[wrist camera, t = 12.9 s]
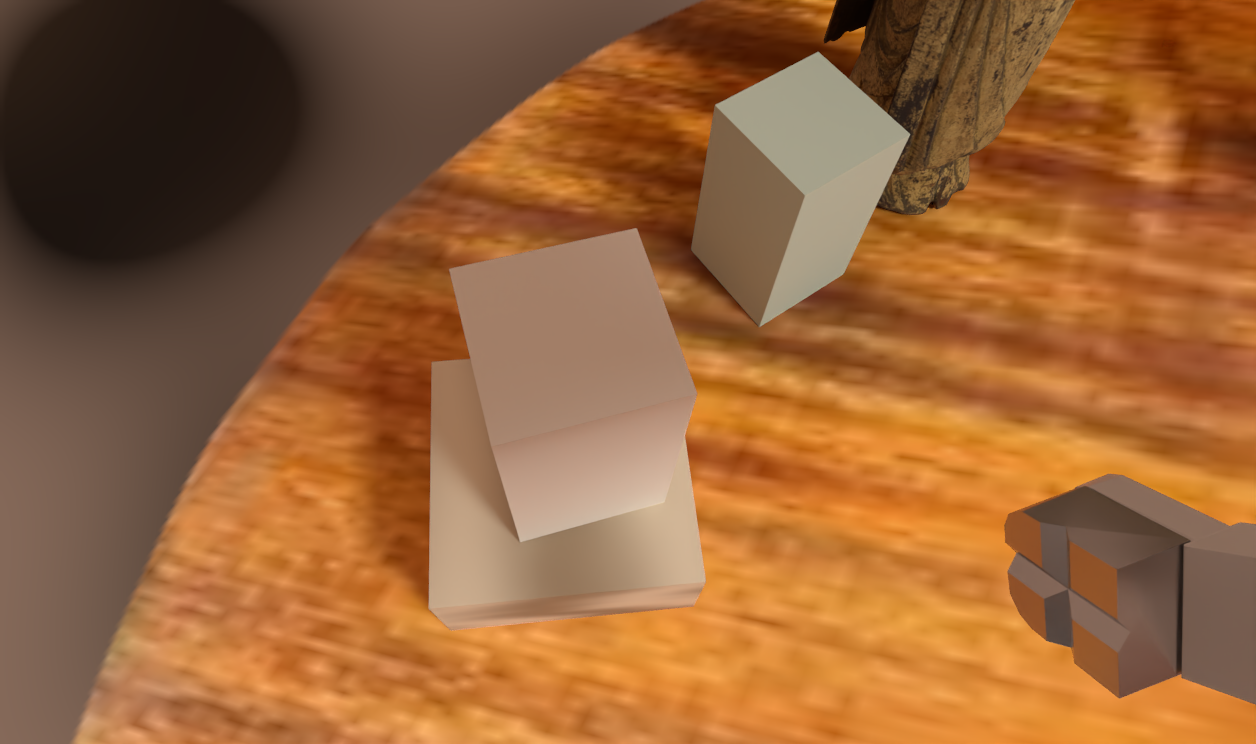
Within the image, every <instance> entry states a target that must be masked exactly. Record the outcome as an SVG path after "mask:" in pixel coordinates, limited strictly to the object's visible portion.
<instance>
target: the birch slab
mask: <svg viewBox="0 0 1256 744" xmlns="http://www.w3.org/2000/svg"><path fill="white" fill-rule="evenodd" d="M705 583H706V579H705V572H704V565H703V558H702V551H701V544H700V537H699V530H698V524H697V517H696V510H695V503H694V496H693V489H692V482H691V475H690V468H689V461H688V454H687V448H686V441H685V436H684V439H683V443H682V446H681V449H680V453H679V456H678V459H677V463H676V466H675V469H674V473H673V476H672V479H671V482H670V486H669V489H668V492H667V496H666V499H665V502H663V503H660V504H656V505H652V506H649V507H645V508H642V509H638V510H635V511H631V512H627V513H624V514H620V515H617V516H613V517H610V518H606V519H602V520H599V521H595V522H592V523H588V524H584V525H581V526H577V527H574V528H570V529H566V530H563V531H559V532H556V533H552V534H549V535H545V536H541V537H538V538H534V539H531V540H527V541H523V542H520V540H519V536H518V533H517V530H516V527H515V523H514V520H513V517H512V513H511V510H510V507H509V503H508V500H507V497H506V494H505V490H504V487H503V484H502V480H501V477H500V474H499V470H498V467H497V464H496V461H495V457H494V454H493V451H492V447H491V443H490V439H489V435H488V431H487V427H486V422H485V418H484V414H483V410H482V406H481V401H480V397H479V393H478V389H477V385H476V380H475V376H474V372H473V368H472V364H471V359H461V360H448V361H435V362H432V371H431V456H430V541H429V610H430V611H431V612H432V613H433V614H434V615H435V616H436V617H437V618H439V619H440V620H441V621H442V622H443V623H444V624H445V625H446V626H447V627H448V628H449V629H450V630H462V629H472V628H482V627H492V626H502V625H512V624H522V623H532V622H542V621H552V620H562V619H572V618H582V617H592V616H602V615H612V614H622V613H633V612H643V611H653V610H663V609H673V608H683V607H693V606H694V604H695V602H696V600H697V598H698V596H699V594H700V592H701V591H702V589H703V587H704V585H705Z"/></svg>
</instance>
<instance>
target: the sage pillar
mask: <svg viewBox="0 0 1256 744" xmlns="http://www.w3.org/2000/svg"><path fill="white" fill-rule="evenodd" d="M909 136H910V133H908V132H907V131H906V130H905V129H904V128H903V127H902V126H901V125H900V124H898V123H897V122H896V121H895V120H894V119H893V118H892V117H891V116H889V115H888V114H887V113H886V112H885V111H884V110H883V109H882V108H881V107H879V106H878V105H877V104H876V103H875V102H874V101H873V100H872V99H871V98H869V97H868V96H867V95H866V94H865V93H864V92H863V91H862V90H860V89H859V88H858V87H857V86H856V85H855V84H854V83H853V82H852V81H850V80H849V79H848V78H847V77H846V76H845V75H844V74H843V73H841V72H840V71H839V70H838V69H837V68H836V67H835V66H834V65H833V64H831V63H830V62H829V61H828V60H827V59H826V58H825V57H824V56H823V55H821V54H820V53H819V52H817V53H815V54H813V55H811V56H809V57H807V58H805V59H803V60H801V61H799V62H797V63H795V64H793V65H791V66H790V67H788V68H786V69H784V70H782V71H780V72H778V73H776V74H774V75H772V76H770V77H768V78H766V79H764V80H763V81H761V82H759V83H757V84H755V85H753V86H751V87H749V88H747V89H745V90H743V91H741V92H739V93H737V94H736V95H734V96H732V97H730V98H728V99H726V100H724V101H722V102H720V103H718V104H716V105H715V108H714V114H713V120H712V126H711V132H710V138H709V144H708V150H707V156H706V162H705V168H704V174H703V180H702V186H701V192H700V198H699V204H698V210H697V216H696V221H695V227H694V233H693V239H692V245H691V251H692V252H693V253H694V254H695V255H696V256H697V257H698V259H699V260H700V261H701V262H702V263H703V264H704V265H705V266H706V268H707V269H708V270H709V271H710V272H711V273H712V274H713V275H714V277H715V278H716V279H717V280H718V281H719V282H720V283H721V284H722V286H723V287H724V288H725V289H726V290H727V291H728V292H729V293H730V295H731V296H732V297H733V298H734V299H735V300H736V301H737V303H738V304H739V305H740V306H741V307H742V308H743V309H744V310H745V312H746V313H747V314H748V315H749V316H750V317H751V318H752V319H753V321H754V322H755V323H756V324H757V325H758V326H759V327H760V326H762V325H764V324H765V323H767V322H768V321H770V320H771V319H773V318H775V317H776V316H778V315H779V314H781V313H783V312H784V311H786V310H787V309H789V308H790V307H792V306H794V305H795V304H797V303H798V302H800V301H802V300H803V299H805V298H806V297H808V296H809V295H811V294H813V293H814V292H816V291H817V290H819V289H821V288H822V287H824V286H825V285H827V284H828V283H830V282H832V281H833V280H835V279H836V278H838V277H840V276H841V275H843V274H844V272H845V270H846V268H847V266H848V264H849V261H850V259H851V257H852V255H853V253H854V251H855V249H856V247H857V245H858V243H859V241H860V238H861V236H862V234H863V232H864V230H865V228H866V226H867V224H868V222H869V220H870V218H871V216H872V213H873V211H874V209H875V207H876V205H877V203H878V201H879V199H880V197H881V195H882V193H883V190H884V188H885V186H886V184H887V182H888V180H889V178H890V176H891V174H892V172H893V170H894V167H895V165H896V163H897V161H898V159H899V157H900V155H901V153H902V151H903V149H904V147H905V144H906V142H907V140H908V138H909Z"/></svg>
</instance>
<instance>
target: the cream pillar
mask: <svg viewBox="0 0 1256 744" xmlns="http://www.w3.org/2000/svg"><path fill="white" fill-rule="evenodd" d="M449 271H450V275H451V280H452V284H453V288H454V292H455V296H456V301H457V305H458V309H459V313H460V317H461V322H462V326H463V330H464V334H465V338H466V343H467V347H468V351H469V355H470V359H471V364H472V368H473V372H474V376H475V380H476V385H477V389H478V393H479V397H480V401H481V406H482V410H483V414H484V418H485V422H486V427H487V431H488V435H489V439H490V443H491V447H492V451H493V454H494V457H495V461H496V464H497V467H498V470H499V474H500V477H501V480H502V484H503V487H504V490H505V494H506V497H507V500H508V503H509V507H510V510H511V513H512V517H513V520H514V523H515V527H516V530H517V533H518V536H519V540H520V542H523V541H527V540H531V539H534V538H538V537H541V536H545V535H549V534H552V533H556V532H559V531H563V530H566V529H570V528H574V527H577V526H581V525H584V524H588V523H592V522H595V521H599V520H602V519H606V518H610V517H613V516H617V515H620V514H624V513H627V512H631V511H635V510H638V509H642V508H645V507H649V506H652V505H656V504H660V503H663V502H665V499H666V496H667V492H668V489H669V486H670V482H671V479H672V476H673V473H674V469H675V466H676V463H677V459H678V456H679V453H680V449H681V446H682V443H683V439H684V436H685V433H686V430H687V426H688V423H689V420H690V416H691V413H692V410H693V406H694V403H695V400H696V396H697V392H696V389H695V386H694V383H693V381H692V378H691V375H690V373H689V370H688V367H687V364H686V362H685V359H684V356H683V353H682V351H681V348H680V345H679V343H678V340H677V337H676V334H675V332H674V329H673V326H672V323H671V321H670V318H669V315H668V312H667V310H666V307H665V304H664V302H663V299H662V296H661V293H660V291H659V288H658V285H657V282H656V280H655V277H654V274H653V271H652V269H651V266H650V263H649V261H648V258H647V255H646V252H645V250H644V247H643V244H642V241H641V239H640V236H639V233H638V231H637V228H635V229H630V230H626V231H621V232H616V233H612V234H607V235H603V236H598V237H593V238H589V239H584V240H580V241H575V242H570V243H566V244H561V245H557V246H552V247H547V248H543V249H538V250H534V251H529V252H524V253H520V254H515V255H511V256H506V257H501V258H497V259H492V260H488V261H483V262H478V263H474V264H469V265H464V266H460V267H455V268H451V269H449Z"/></svg>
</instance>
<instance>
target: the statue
mask: <svg viewBox="0 0 1256 744" xmlns="http://www.w3.org/2000/svg"><path fill="white" fill-rule="evenodd" d="M1074 1H1075V0H837V1H836V4H835V7H834V10H833V13H832V16H831V19H830V22H829V25H828V29H827V31H826V34H825V38H824V43H827V42H828V41H830V40H831V41H836V40H838V39H839V38H840V37H841V36H842V35H843V34H844V33H845V32H846V31H849V32H851V31H854V30H856V29H859V28H861V27H864V26H866V29H865V39H864V41H863V44H862V46H861V54H860V56H859V58H858V60H857V62H856V64H855V66H854V68H853V70H852V73H851V75H850V77H849V80H850V81H852V82H853V83H854V84H855V85H856V86H857V87H858V88H859V89H860V90H862V91H863V92H864V93H865V94H866V95H867V96H868V97H869V98H871V99H872V100H873V101H874V102H875V103H876V104H877V105H878V106H879V107H881V108H882V109H883V110H884V111H885V112H886V113H887V114H888V115H889V116H891V117H892V118H893V119H894V120H895V121H896V122H897V123H898V124H900V125H901V126H902V127H903V128H904V129H905V130H906V131H907V132H908V133H910V136H909V138H908V140H907V142H906V144H905V147H904V149H903V151H902V153H901V155H900V157H899V159H898V161H897V163H896V165H895V167H894V170H893V172H892V174H891V176H890V178H889V180H888V182H887V184H886V186H885V188H884V190H883V193H882V195H881V197H880V199H879V201H878V203H877V206H879V207H881V208H884V209H887V210H891V211H895V212H898V213H902V214H907V215H917V214H923V213H924V212H926V210H927V208H928V205H929V204H930V203H931V202H933V206H934V207H935V209H939V208H941V207H943V206H945V205H946V204H947V203H948V201H949V199H950V197H951V195H952V194H953V193H955V192H957V191H960V190H963V189H964V188H965V186H966V185H967V183H968V180H969V155H971V154H973V153H976V152H978V151H980V150H981V149H983V148H984V147H986V146H987V145H988V144H990V143H991V142H992V141H993V140H994V139H995V138H996V137H997V135H998V134H999V133H1000V132H1001V130H1002V129H1003V127H1004V125H1005V120H1004V117H1005V115H1006V114H1007V113H1008V111H1009V110H1010V109H1011V107H1012V106H1013V105H1014V104H1015V102H1016V101H1017V99H1018V98H1019V96H1020V95H1021V93H1022V92H1023V90H1024V89H1025V87H1026V85H1027V84H1028V81H1029V79H1030V77H1031V76H1032V74H1033V73H1034V71H1035V69H1036V68H1037V67H1038V65H1039V64H1040V62H1041V60H1042V59H1043V57H1044V55H1045V54H1046V52H1047V50H1048V49H1049V47H1050V45H1051V43H1052V42H1053V40H1054V38H1055V36H1056V34H1057V33H1058V31H1059V29H1060V27H1061V25H1062V24H1063V22H1064V20H1065V18H1066V16H1067V15H1068V13H1069V11H1070V9H1071V7H1072V5H1073V3H1074Z"/></svg>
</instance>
